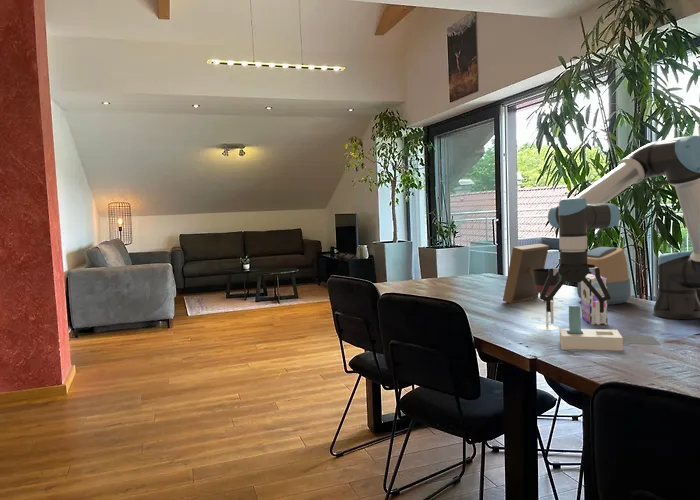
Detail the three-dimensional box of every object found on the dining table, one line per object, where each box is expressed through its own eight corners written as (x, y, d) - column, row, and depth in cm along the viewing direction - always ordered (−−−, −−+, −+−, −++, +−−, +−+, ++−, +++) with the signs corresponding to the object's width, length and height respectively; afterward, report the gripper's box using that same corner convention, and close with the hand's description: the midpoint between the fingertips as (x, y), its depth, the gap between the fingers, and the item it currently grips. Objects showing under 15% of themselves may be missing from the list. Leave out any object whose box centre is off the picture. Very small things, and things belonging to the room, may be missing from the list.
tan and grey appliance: (573, 300, 228) (572, 247, 227) (608, 297, 231) (607, 245, 230) (598, 306, 212) (597, 250, 210) (635, 303, 215) (634, 247, 213)
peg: (581, 344, 156) (579, 305, 156) (581, 347, 153) (580, 307, 153) (569, 344, 158) (568, 305, 157) (570, 347, 155) (568, 306, 154)
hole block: (617, 342, 156) (617, 329, 156) (622, 351, 147) (622, 337, 147) (559, 341, 162) (559, 328, 161) (561, 349, 152) (561, 336, 152)
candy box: (608, 325, 179) (607, 278, 178) (590, 325, 180) (589, 278, 179) (597, 317, 193) (597, 273, 192) (580, 317, 194) (579, 273, 193)
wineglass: (538, 324, 186) (537, 268, 185) (564, 326, 181) (562, 269, 179) (530, 328, 180) (529, 271, 179) (556, 331, 175) (555, 271, 173)
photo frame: (502, 302, 231) (501, 246, 229) (529, 296, 245) (529, 243, 243) (533, 306, 219) (532, 247, 218) (559, 299, 233) (559, 243, 231)
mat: (652, 337, 160) (652, 336, 160) (660, 345, 151) (660, 344, 151) (616, 336, 164) (616, 335, 164) (622, 344, 154) (622, 343, 154)
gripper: (616, 248, 153) (617, 321, 155) (529, 250, 161) (531, 319, 163) (621, 250, 146) (622, 326, 148) (529, 252, 154) (531, 324, 155)
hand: (574, 323), depth 155 cm, fingers open, 12 cm apart
